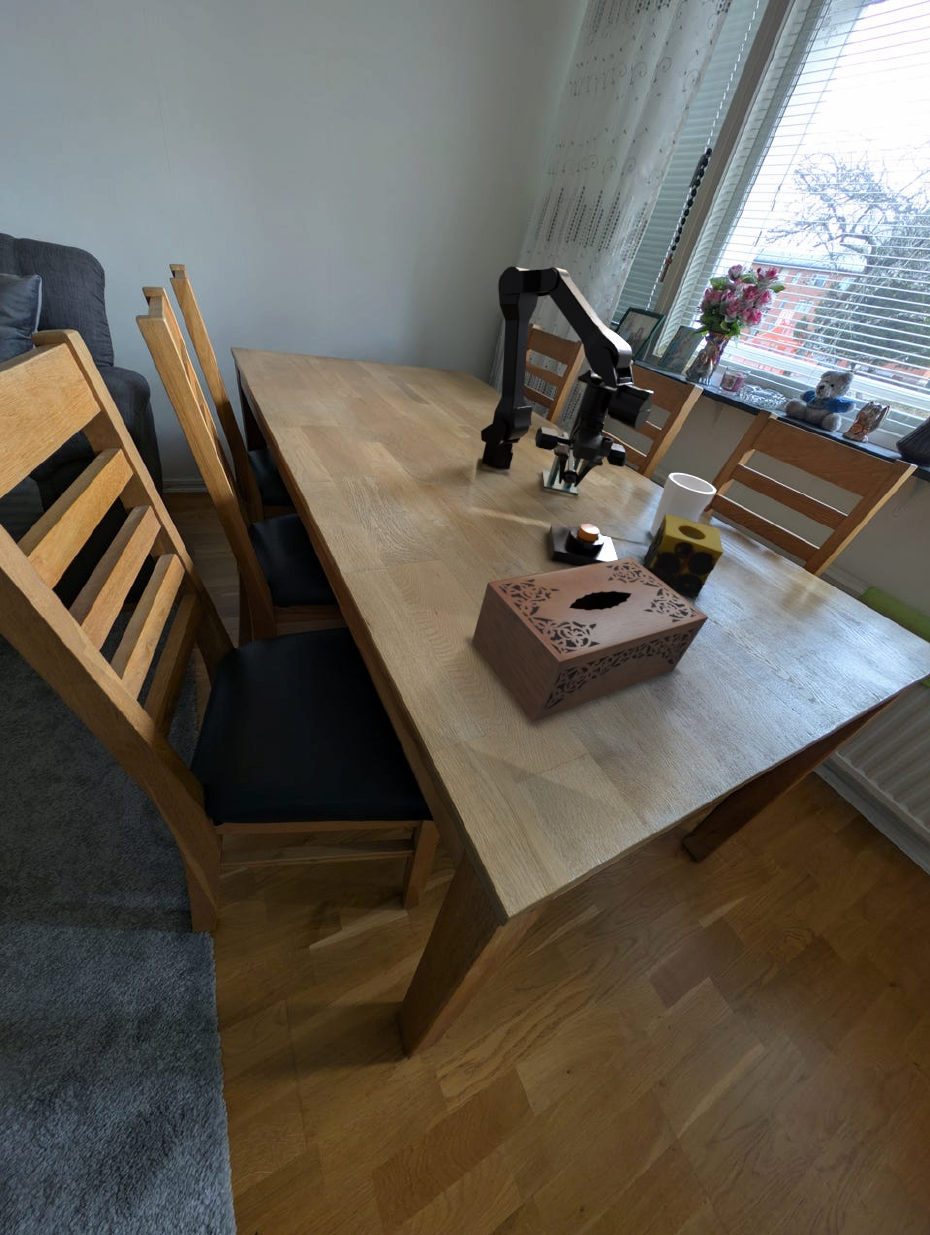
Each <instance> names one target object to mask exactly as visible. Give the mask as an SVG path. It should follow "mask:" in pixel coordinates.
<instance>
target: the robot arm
mask: <svg viewBox="0 0 930 1235" xmlns="http://www.w3.org/2000/svg"><path fill="white" fill-rule="evenodd" d="M497 290H498V291H497V292H498V305H499V308H500V311H501V313H502V316H503V319H504V339H503V361H502V376H501V377H502V378H501V397H500V399H499V401H498V403H497V405H496V407H495V409H494V412H493V418H492V423H491V424H489V425H487V426H486V427H485V428H483V429H482V430H480V440H481V441H482V442H484V443H485V444H484V448H483V453H482V458H481V464H483V465H486V466H487V467H489V468H493V469H498V470H501V469H503V470H510V468H511V464H512V460H513V456H514V449H513V447H514V446H513V444H519V441H521V438H524V437H525V435H527V434H528V432H529V430H530V426H532V425H533V424H532V414H533V405H527V403H526V399H525V384H526V383H525V382H526V369H527V357H528V356H527V355H528V341H529V329H530V328H529V327H530V326H529V325H530V321H531V318H532V316H533V314H534V312H535V311H536V308H537V305H538V300H539V298H540V297H548V296H549V297H550V298H551V300H552V301H553V302H554V304H555V305H556V307H557V308H558V309H559V311H560V312H561V314H562V316H563V317H564V319H566V321H567V322H568V324H569V325H570V327H571V328H572V329H573V332H575V334H576V335H577V336H578V338H579V339H580V341H581V343H582V346H583V353H584V356H585V358H586V361H587V363H588V365H589V366H590V368H589V369H587V371H586V372H584V373H582V374H580V375H578V376H577V380H578V381H579V382H581V383H584V384H585V388H584V392H583V393H582V397H581V400H580V403H579V406H578V409H577V412H576V414H575V418H574V420H573V424H572V427H571V430H570V433H569V435H568V438H565V437H562V435H561V436H560V435H559V434H558V430H557V429H553V428H549V427H546V426H545V427H544V426H540V427H538V428H537V430H536V434H535V437H534V441H535V447H536V448H538V449H543V450H546V451H550V452H551V451H552V450H553V454H554V455H555V456H558V459H559V471H558V474H559V484H561V482H562V480H563V476H564V472H565V471H566V467H567V464H568V458H569V455H568V454H569V453H568V450H569V449H573V457H574V458H576V459H581V460H582V462H581V465H580V467H579V469H578V472H577V474H578V478H577V480H576V482H575V483H574V487H577V488H578V486H579V484H580V483H581V482H582V481H583V480H584V478H585V477H586V476H587V475H588V473H589V472H591V470H592V469H594V468H596V467H598V466H600V467H602V466H603V465H604V462H603V460H604V459H605V458H606V460H607V462H608V465H611V466H616V467H620V468H623V467H624V466H625V464H626V461H627V458H628V454H627V452H626V450H625V448H624V446H623V445H622V444H618V443H614V438H612V437H608V436H603V430H604V426H605V421H606V419H607V416H609V419H610V420H612V421H614V422H615V423H619V424H621V425H623V426H626V427H628V428H630V429H633V430H635V431H639V430H640V429H642V427H643V426H644V425H645V424H646V422H647V421H648V419H649V417H650V416H651V413H652V406H653V400H652V398H653V396H654V391H653V390H650V389H643V388H641V387H638V386H635V380H634V375H633V370H632V365H631V364H632V363H631V362H632V357H633V350H632V348H631V345H629V343H628V342H626V341H625V340H624V339H623V338H622V337H621V336H619V335H618V334H617V333H616V332H614V331H613V330H611V329H610V328H609V327H607V326H606V325H605V324H604V323H603V322H602V320H601V319H600V318H599V315H598V314H596V312H595V310H594V309H593V308H592V306H591V305H590V304H589V302H588V301H587V299H586V298H585V296H584V295H583V294H582V292H581V291H580V290H579V288H578V286H576V284H575V282H574V281H573V280H572V278H571V275H570V273H569V272H568V270H566V269H563V268H558V267H554V266H552V267H549V268H543V269H527V268H523V267H517V266H508V267H507V268H506V269H504V270H503V272H502V274H500V275H499V278H498V284H497ZM572 444H573V445H572Z"/></svg>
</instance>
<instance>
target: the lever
mask: <svg viewBox="0 0 930 1235" xmlns="http://www.w3.org/2000/svg"><path fill="white" fill-rule="evenodd" d="M572 445H573V444H572ZM568 455H569V458H568V460H567V469H565V472H564V476H563V481H564V482H565V483H566V484H573V483H575V482H576V480H577V478H578V472H577V471H575V470H574V457H573V449H569V450H568Z"/></svg>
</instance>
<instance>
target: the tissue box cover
mask: <svg viewBox="0 0 930 1235" xmlns="http://www.w3.org/2000/svg"><path fill="white" fill-rule="evenodd" d="M480 607H481V608H480V610H479V614H478V618H477V621H476V625H475V629H474V632H473V636H472V640H471V643H472V645H473V646H474V647H475V649H476V650H477V651H478V653H479V654H480V655H481V657H482V658H483V659H484V660H485V662H486V663H487V664H488V666H489V667H490V668H491V670H492V671H493V672H494V674H495V675H496V676H497V678H498V679H499V680H500V681H501V683H502V684H503V685H504V686H505V689H507V690H508V692H509V693H510V694H511V696H512V697H513V698H514V700H515V702H516V703H518V705H519V706H520V708H521V709H522V710H523V711H524V712H525V714H526V716H528V718H529V719H530V720H531V722H532V723H535V722H538V721H540V720H544V719H545V718H548V717H551V716H553V715H556V714H559V713H562V712H564V711H567V710H570V709H573V708H575V707H579V706H581V705H584V704H587V703H589V702H591V701H594V700H597V699H600V698H603V697H605V696H608V695H611V694H613V693H615V692H619V691H622V690H624V689H627V688H630V687H632V686H636V685H638V684H641V683H643V682H646V681H649V680H651V679H654V678H656V677H657V678H658V677H659V676H662V675H664V674H667V673H670V672H674V670H675V669H676V668H677V666H678V664H679V663H680V661H681V660H682V658H683V656H684V655H685V654H686V653H687V651H688V649H689V648H690V646H691V645H692V643H693V641H694V640H695V639H696V637H697V635H698V634H699V633H700V631H701V630H702V628H703V627H704V624H706V622H707V620H708V619H709V616H708V615H707V614H705V613H704V612H703V611H701V610H700V609H699V608H698V607H697V606H695V605H694V604H692V603H691V602H690V601H689V600H687V599H686V598H685V597H683V595H682V594H680V593H677V592H675V591H674V590H673V589H672V588H670V587H669V586H668V585H666V584H665V583H664V582H663V581H661V580H660V579H659V578H657V577H656V576H655V575H653V574H652V573H651V572H650V571H648V570H647V569H646V568H644V567H643V565H642V564H641V563H639V562H638V561H636V560H635V559H634V558H633V557H625V558H624V557H623V558H620V559H619V558H618V560H613V561H607V562H601V563H596V564H590V565H584V566H573V567H568V568H561V569H557V570H550V571H546V572H539V573H534V574H528V575H523V576H516V577H512V578H511V577H510V578H506V579H499V580H495V581H494V580H493V581H489V582H487V585H486V589H485V592H484V596H483V599H482V603H481V606H480Z"/></svg>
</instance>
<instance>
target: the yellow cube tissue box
mask: <svg viewBox="0 0 930 1235" xmlns="http://www.w3.org/2000/svg"><path fill="white" fill-rule="evenodd" d="M651 540H652V541H651V542H650V544H649V547H648V548H647V552H646V553H645V555H644V557H643V559H644V560H643V565H642V566H643V567H644V568H646V569H647V570H648V571H650V572H651V573H652V574H653V575H655V576H656V577H657V578H659V579H660V580H661V581H663V582H664V583H665V584H666V585H668V586H669V587H670V588H672V589H673V590H674V591H675V592H677V593H678V594H680V595H682V596H686V597H689V598H692V599H697V598H698V597H699V595H700V592H701V591H702V590H703V587H704V586H705V585H706V582H707V581H708V578H709V576H710V575H711V573H712V571H714V569H715V567H716V565H717V563H718V561H719V560H720V558H721V557H722V555H723V554H724V548H723V545H722V538H721V530H720V529H719V528H716V527H713V526H710V525H706V524H703V523H700V522H696V521H695V522H693V521H690V520H687V519H684V518H680V517H677V516H674V515H670V514H665V516H664V518H663V521H662V523H661V525H660V528H659V529H658V531H657V533H656V535H655V536H654V537H653V539H651Z"/></svg>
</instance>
